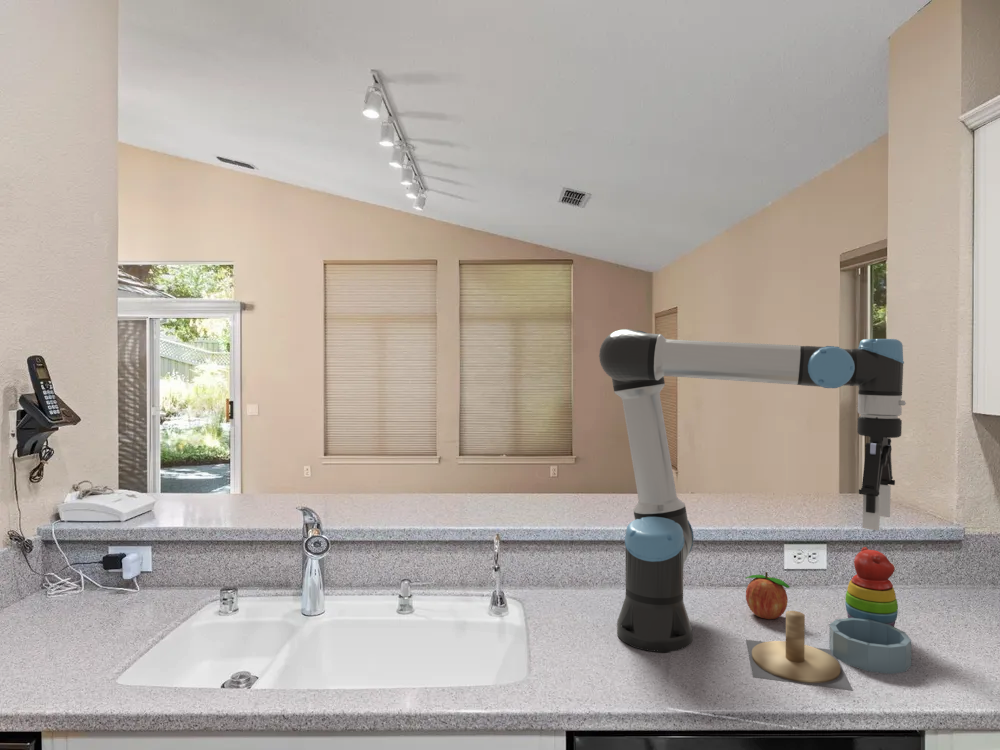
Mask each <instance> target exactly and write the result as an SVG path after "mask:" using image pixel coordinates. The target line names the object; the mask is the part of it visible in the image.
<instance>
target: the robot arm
mask: <svg viewBox="0 0 1000 750" xmlns="http://www.w3.org/2000/svg"><path fill="white" fill-rule="evenodd" d="M903 347H904V345H903V343H902V342H901V341H900V340H899V339H897V338H896V339H895V338H864V339H861V340H860V342H859V344H858V347H857V348H850V349H849V348H841V347H840V346H834V345H826V346H818V345H817V346H815V345H813V346H812V345H811V346H810V345H798V344H797V345H793V344H792V345H791V344H775V343H773V344H772V343H750V342H733V341H732V342H730V341H729V342H728V341H707V340H687V339H686V340H685V339H671V338H669V339H668V338H666V337H665V336H664V335H663V334H661V333H650V332H649V333H648V332H645V331H643V330H636V329H633V328H632V329H631V328H622V329H619V330H617V329H616V330H615V331H613V332H611V333H609V335H607V336H606V337H605V338H604V340H603V341H602V343H601V345H600V347H599V352H598V353H599V355H598V357H599V363H600V366H601V368H602V370H603V372H605V373H606V375H607V376H608V377H610V379H611V382H612V386H613V392H614V394H615V395H617V396H618V397H620V399H621V402H622V407H623V413H624V419H625V425H626V431H627V432H626V433H627V437H628V438H627V439H628V444H629V449H630V450H629V451H630V457H631V462H632V467H633V474H634V480H635V487H636V492H637V499H638V503H637V504H636V505H635V507H634V508H633V517H634V519H633V520H632V521H630V522H629V524H628V525H627V527H626V531H625V536H624V545H625V546H624V547H625V597H624V601H623V604H622V606H621V609H620V613H619V616H618V618H617V621H616V622H617V623H616V634H617V637H618V638H619V639H620V640H621V641H622V642H624V643H625V644H627V645H629V646H632V647H634V648H637V649H640V650H645V651H651V652H661V653H667V652H669V653H670V652H675V651H680V650H683V649H685V648H687V647H689V646H690V645H691V644H692V642H693V628H692V625H691V622H690V618H689V616H688V615H689V614H688V612H687V609H686V608H687V607H686V606H685V601H684V567H685V565H684V564H685V563H686V560H687V558H688V556H689V555H690V554H691V551H692V549H693V545H694V540H695V539H694V531H693V527H692V525H691V523H690V521H689V520H688V513H687V508H686V503H685V502H683V501H682V500H681V499H679V498H678V497H677V496H678V495H677V490H676V484H675V483H676V482H675V477H674V472H673V466H672V459H671V455H670V453H671V452H670V448H669V441H668V436H667V429H666V424H665V418H664V412H663V406H662V405H663V404H662V399H661V391H662V390H663V389H664V387H665V385H666V383H665V377H675V378H687V379H688V378H691V379H703V380H704V379H705V380H706V379H708V380H719V381H720V380H721V381H722V380H723V381H736V382H737V381H738V382H750V383H762V384H763V383H764V384H765V383H766V384H767V383H768V384H778V385H779V384H783V385H797V386H802V387H803V386H805V387H817V388H818V387H821V388H823V389H838V388H841V387H845V386H848V387H849V386H850V387H854V386H855V387H856V386H857V388H858V394H857V413H858V414H859V415H860V416H858V418H857V434H858V435H860V436H862V437H869V442H866V443H865V445H864V446H865V455H864V463H863V464H864V465H863V474H862V482H861V483H862V484H861V489H860V488H859V489H858V494H859V495H861V496H863V498H862V526H861V527H862V529H867V530H872V531H880V517H884V518H890V517H891V496H892V495H891V494H892V493H891V490H892V486H895V485H896V480H895V479H893V469H892V468H893V467H892V444H891V443H892V439H895V438H897V439H898V438H900V437H901V436H902V426H903V425H902V424H903V423H902V422H903V421H902V420H901V418H899V416H902V411H903V408H902V406H906V404H907V403H906V400H902V399H903V385H904V383H903V379H904V378H903V377H904V364H905V361H904V348H903Z"/></svg>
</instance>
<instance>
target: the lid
mask: <svg viewBox="0 0 1000 750" xmlns="http://www.w3.org/2000/svg"><path fill="white" fill-rule="evenodd" d="M805 617H806V616H805V614H804V613H803V612H800V611H796V610H787V611H786V612H785V640H784V641H783V640H770V641H763V643H760V644H758V645H756V646H755V647H754V648H753V649H752V659H753V661H754V662H755V663H756V664H757V665H758V666H759V667H760V668H762V669H763V670H765V671H767V672H769V673H771V674H773V675H776V676H778V677H781V678H785V679H788V680H793V681H798V682H806V683H823V682H829V681H832V680H835V679H836V678H838V677H839V675H840V665H841V663H840V662H839V663H840V664H839V663H838V661H839V660H838V661H837V660H836V659H835V658H834V657H832V656H831V655H829V654H828V653H826V652H824V651H822V650H819V649H817V648H818V647H814V646H810V645H808V644H805V641H806V640H805V638H806V637H805V629H806V628H805V626H806V625H805V624H806V623H805V622H806V621H805V620H806V618H805Z"/></svg>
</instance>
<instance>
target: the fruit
mask: <svg viewBox="0 0 1000 750" xmlns="http://www.w3.org/2000/svg"><path fill="white" fill-rule="evenodd" d="M745 579H752V580H751V581H750V582H749V583H748V585H747V587H746V590H745V601H746V604H747V605H748V608H749V610H750V611H751V612H752V614H754V615H755V616H756V617H758V618H760V619H765V620H775V619H778V618H780V617H781V616H782V615H784V613H785V611H786V609H787V607H788V600H789V598H788V594H787V590H786V589H785V588H787V589H790V588H791V587H790V585H789V584H788V583H786V582H785V581H784V580H782V579H779V578H777V577H771V576H768V572H767V571H765V575H764V574H753V575H748V576H746V577H745Z"/></svg>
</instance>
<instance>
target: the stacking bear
mask: <svg viewBox="0 0 1000 750" xmlns="http://www.w3.org/2000/svg"><path fill="white" fill-rule="evenodd" d="M853 564H854V569H855V572H856V574H855V575H854V576H853V577H852V578H851V580H849V582H848V585H847V589H846V592H845V610H846V613H847V614H846V615H847V618H858V619H868V620H873V621H877V622H881V623H884V624H888V625H891V626H893V627H895V625H896V620H897V618H898V613H899V611H898V610H899V606H898V599H897V596H896V595H897V594H896V592H895V588H894V584H893V583H892V582H891V580H890V579H891V577H892V576H893V574H894V573H895V569H896V567H895V565H894V564H893V563H892V562H891V561H890V560H889V559H888V557H887V556H886V555H885V554H884V553H882V552H880V551H878V550H876V549H869V548H867V546H864V547H862V548H861V550H860V551H858V553H857V554H856V555H855V557H854V559H853Z"/></svg>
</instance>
